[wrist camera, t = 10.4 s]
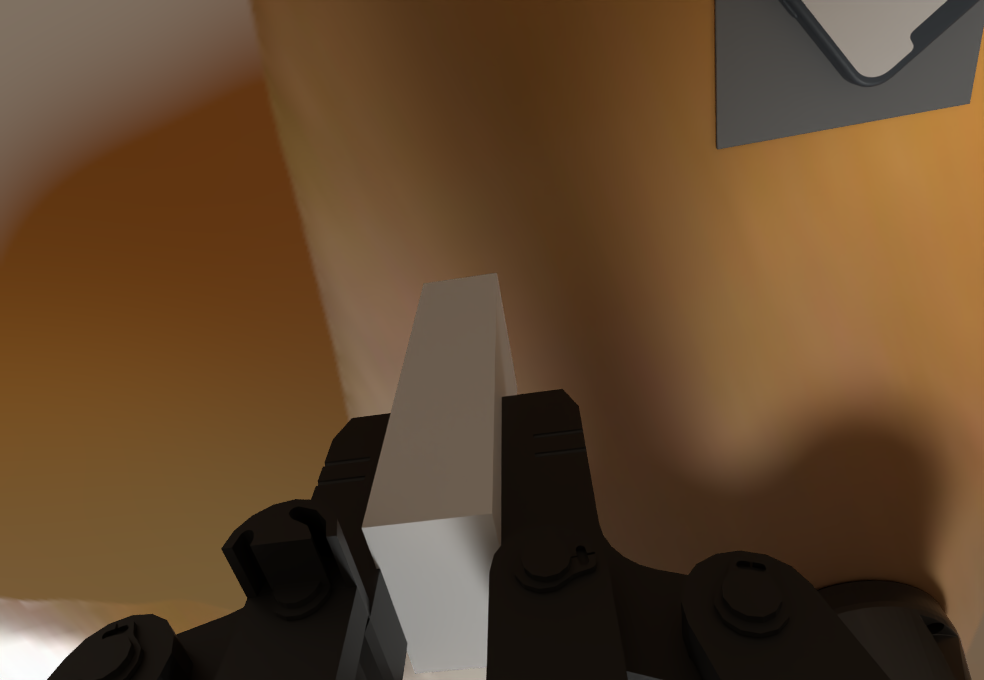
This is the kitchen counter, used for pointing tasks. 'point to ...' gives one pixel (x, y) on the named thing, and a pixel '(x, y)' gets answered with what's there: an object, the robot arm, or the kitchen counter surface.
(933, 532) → the kitchen counter surface
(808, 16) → the phone case
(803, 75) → the charging mat
